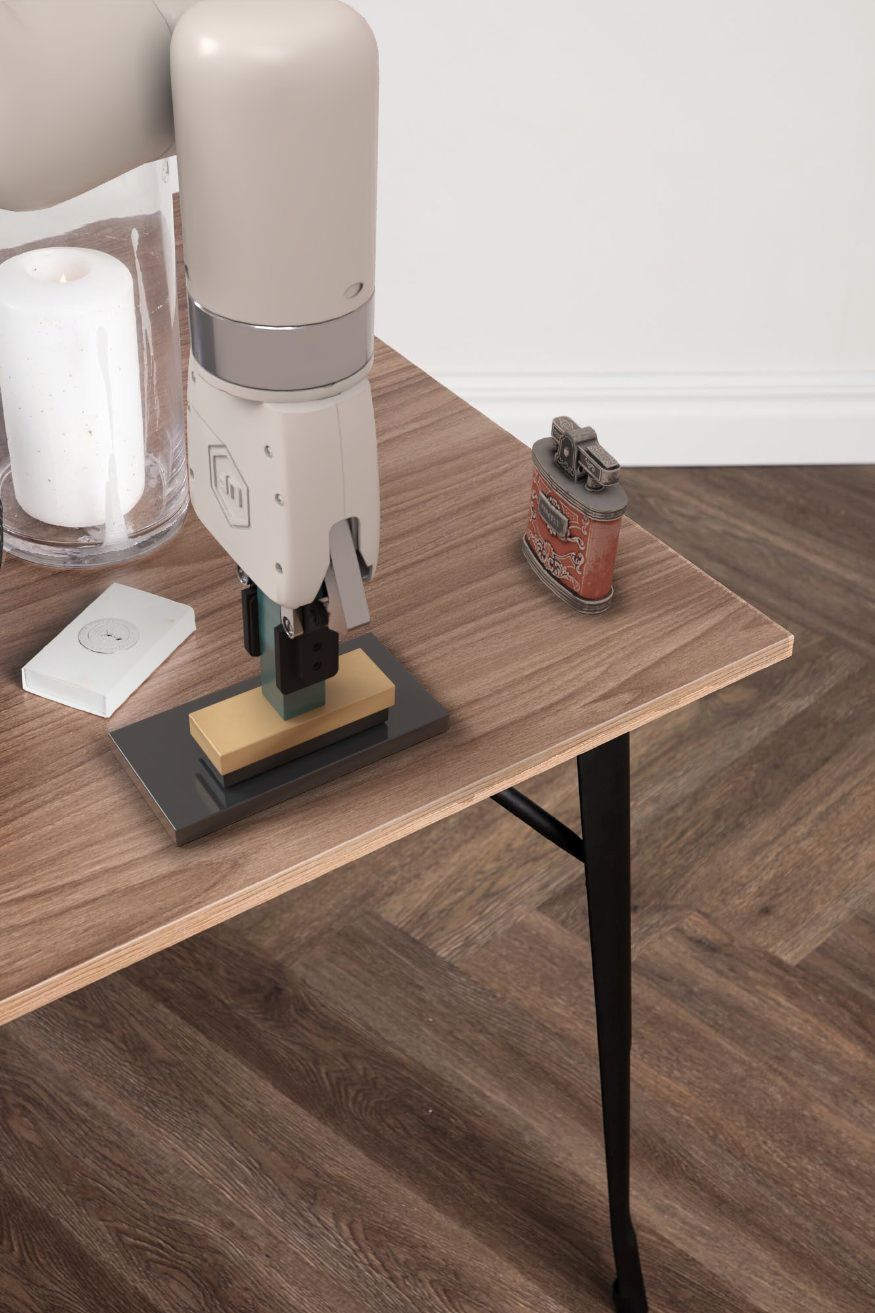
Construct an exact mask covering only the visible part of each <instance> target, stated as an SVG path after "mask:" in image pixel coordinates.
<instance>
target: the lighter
mask: <svg viewBox="0 0 875 1313" xmlns="http://www.w3.org/2000/svg"><path fill="white" fill-rule="evenodd" d="M551 420H552V421H551V430H550V436H548V437H543V438H540V439H537V440H535V442H533V444H532V448H531V454H530V455H531V456H530V458H531V462H532V463H533V467H532V478H531V486H530V497H529V505H528V516H527V525H526V532H524V534H523V536H522V545H521V550H522V554H523V556H524V557H525V559H526V561H527V563H528V565H529V566H530V568H531V569H532V570H533V572H534V573H535V574H536V575H537V577H538V578H539V579H540V581H541V582H542V583H543V584H544V585H545V586H546V587H547V588H548V589H549V590H550V591H551V592H552V593H553V594H554V595H556V596H557V597H558V598H559V599H560V600H562V601H563V602H564V603H566V604H567V605H568V606H570V607H571V608H572V609H574V610H575V611H577V612H579V613H583V614H588V615H589V614H591V615H594V614H600V613H603V612H605V611H607V610H608V609H609V608H610V607H611V606H612V603H613V598H614V592H615V591H614V587H613V585H612V583H613V577H614V570H615V565H616V557H617V551H618V545H619V538H620V533H621V532H620V531H621V526H622V519H623V516H625V515H626V512H627V509H628V502H629V497H628V495H627V493H626V491H625V490H624V489H623V487H622V486H621V484H620V475H621V468H622V466H621V464H620V463H619V461H618V460H617V459H616V458H615V457H614V456H613V455H611V454H610V453H609V452H608V451H607V450H606V448H604V447H603V446H602V445H601V444H600V442H599V440H598V434H597V433H596V430H595V429H594V428H592V426H590V425H588V426H584V427H581V426H580V425H579V424H578V423H577V422H575V421H574V419H572V418H571V417H570V416H567V415H560V416H556V417H553V418H552V419H551Z"/></svg>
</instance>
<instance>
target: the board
mask: <svg viewBox="0 0 875 1313" xmlns="http://www.w3.org/2000/svg"><path fill="white" fill-rule="evenodd" d="M359 648H361V649H362V650H363V651H364V652H365V654H366V655H367V656H368V657H369V658H370V659H371V660H372V661H373V662H374V663H375V664H376V665H377V667H378V668H379V669H380V670H381V671H382V672H383V673H384V674H385V675H386V676H387V677H388V678H389V680H390V681H391V682H392V683H393V684H394V685H395V703H394V705H393V706H390V707H389V712H388V720H387V721H385V722H383V723H380V724H378V725H376V726H373V727H371V728H368V729H366V730H364V731H361V732H359V733H356V734H354V735H352V736H349V737H347V738H344V739H342V740H340V741H337V742H335V743H332V744H330V745H328V746H325V747H323V748H320V749H318V750H316V751H313V752H311V753H308V754H306V755H304V756H301V757H299V758H296V759H294V760H292V761H289V762H287V763H284V764H282V765H280V766H277V767H275V768H272V769H270V770H268V771H265V772H263V773H260V774H258V775H256V776H253V777H251V778H248V779H246V780H244V781H241V782H239V783H236V784H234V785H232V786H229V787H227V788H224V787H223V786H222V784H221V783H220V782H219V780H218V779H217V778H216V776H215V775H214V773H213V772H212V771H211V769H210V768H209V767H208V765H207V764H206V763H205V761H204V760H203V759H202V757H201V756H200V755H199V753H198V750H197V741H196V740H195V739H194V737H193V736H192V735H191V733H190V722H189V714H190V713H193V712H195V711H198V710H200V709H203V708H206V707H208V706H211V705H213V704H216V703H219V702H221V701H224V700H226V699H229V698H232V697H234V696H237V695H239V694H242V693H245V692H247V691H250V690H252V689H255V688H257V687H260V686H262V685H261V673H260V674H257V675H255V676H252V677H249V678H247V679H243V680H241V681H239V682H236V683H233V684H231V685H227V686H226V687H223V688H220V689H218V690H215V691H213V692H209V693H207V694H204V695H202V696H200V697H197V698H195V699H192V700H190V701H189V700H188V701H186V702H184V703H181V704H178V705H175V706H174V707H171V708H168V709H166V710H163V711H161V712H158V713H156V714H153V715H150V716H148V717H145V718H143V719H139V720H138V721H135V722H132V723H129V724H127V725H124V726H121V727H119V728H116V729H114V730H112V731H109V732H108V733H107V738H108V745H109V749H110V751H111V752H112V754H113V755H114V756H115V758H116V760H117V761H118V762H119V764H120V765H121V767H122V769H123V770H124V771H125V773H126V774H127V776H128V777H129V778H130V780H131V781H132V783H133V784H134V786H135V788H136V789H137V790H138V792H139V794H140V795H141V796H142V797H143V799H144V800H145V802H146V803H147V804H148V806H149V808H150V809H151V811H152V812H153V813H154V815H155V816H156V818H157V820H158V821H159V822H160V824H161V825H162V827H163V829H165V831H166V833H167V835H169V838H170V839H171V840H172V841H173V843H174V845H176V847H180V846H183V845H185V844H188V843H191V842H193V841H194V840H197V839H199V838H201V837H204V836H206V835H208V834H211V833H213V832H215V831H217V830H220V829H222V828H224V827H227V826H229V825H231V824H233V823H237V822H238V821H241V820H244V819H245V818H247V817H250V816H252V815H256V814H257V813H259V812H262V811H264V810H266V809H268V808H271V807H274V806H276V805H278V804H280V803H282V802H284V801H287V800H289V799H291V798H294V797H296V796H299V795H301V794H303V793H305V792H308V791H310V790H312V789H314V788H316V787H320V786H321V785H324V784H326V783H328V782H330V781H333V780H335V779H337V778H340V777H342V776H345V775H346V774H347V775H348V774H349V773H351V772H354V771H356V770H359V769H361V768H363V767H365V766H368V765H370V764H373V763H374V762H376V761H379V760H382V759H384V758H386V757H389V756H391V755H393V754H396V753H398V752H400V751H403V750H404V749H407V748H410V747H411V746H414V745H416V744H419V743H420V742H423V741H425V740H428V739H430V738H432V737H434V736H437V735H439V734H441V733H443V732H446V731H448V730H449V727H450V713H449V711H447V710H446V709H445V707H444V706H443V705H442V704H440V702H439V701H438V700H437V699H436V698H435V697H434V696H433V694H431V693H430V692H429V691H428V690H427V688H426V687H425V686H424V685H423V684H421V682H419V680H418V679H417V678H416V677H415V676H414V675H413V674H412V673H411V672H410V671H409V670H408V668H406V666H404V665H403V663H402V662H401V661H399V659H398V658H397V657H396V656H395V655H394V654H393V653H392V652H391V651H390V650H389V648H387V646H386V645H384V644H383V642H382V641H381V640H380V639H379V638H378V637H377V636H376V635H375V634H374V633H373V632H372V631H368V632H366V633H363V634H361V635H358V636H355V637H352V638H350V639H347V640H345V641H342V642H339V656H340V655H343V654H346V653H348V652H351V651H353V650H356V649H359Z"/></svg>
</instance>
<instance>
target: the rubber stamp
mask: <svg viewBox="0 0 875 1313" xmlns="http://www.w3.org/2000/svg"><path fill="white" fill-rule="evenodd" d="M257 597H258V619H259V641H260V656H259V659H260V660H259V661H260V674H261V685H262V686H260V687H257V688H255V689H252V690H250V691H247V692H245V693H242V694H239V695H237V696H234V697H232V698H229V699H226V700H224V701H221V702H219V703H216V704H213V705H211V706H208V707H206V708H203V709H200V710H198V711H195V712H193V713H190V714H189V722H190V733H191V735H192V736H193V737H194V739H195V740H196V741H197V750H198V753H199V755H200V756H201V757H202V759H203V760H204V761H205V763H206V764H207V765H208V767H209V768H210V769H211V771H212V772H213V773H214V775H215V776H216V778H217V779H218V780H219V782H220V783H221V784H222V786H223V787H224V788H227V787H229V786H232V785H234V784H236V783H239V782H241V781H244V780H246V779H248V778H251V777H253V776H256V775H258V774H260V773H263V772H265V771H268V770H270V769H272V768H275V767H277V766H280V765H282V764H284V763H287V762H289V761H292V760H294V759H296V758H299V757H301V756H304V755H306V754H308V753H311V752H313V751H316V750H318V749H320V748H323V747H325V746H328V745H330V744H332V743H335V742H337V741H340V740H342V739H344V738H347V737H349V736H352V735H354V734H356V733H359V732H361V731H364V730H366V729H368V728H371V727H373V726H376V725H378V724H380V723H383V722H385V721H387V720H388V712H389V707H390V706H393V705H394V703H395V685H394V684H393V683H392V682H391V681H390V680H389V678H388V677H387V676H386V675H385V674H384V673H383V672H382V671H381V670H380V669H379V668H378V667H377V665H376V664H375V663H374V662H373V661H372V660H371V659H370V658H369V657H368V656H367V655H366V654H365V652H364V651H363V650H362V649H361V648H359V649H356V650H353V651H351V652H348V653H346V654H343V655H340V656H339V670H338V672H337V674H336V675H335V676H333V677H331V678H329V679H326V680H324V681H321V682H319V683H316V684H314V685H311V686H308V687H306V688H303V689H301V690H298V691H296V692H293V693H291V694H288V695H283V694H282V693H281V692H280V690H279V689H278V688H277V687H276V672H275V645H274V627H276V626H278V625H279V624H282V620H281V606H280V605H278V604H277V603H275V602H274V601H273V600H271V599H270V598H269V597H268V596H267V595H266V594H265V593H264V592H263V591H262V590H261V589H260V588H259V587H258V586H257ZM321 598H323V594H322V586H321V587H320V589H319V591H318V593H317V595H316V597H315V599H314V600H313V601H315V600H318V599H321ZM313 601H312V602H313ZM303 606H304V605H303Z"/></svg>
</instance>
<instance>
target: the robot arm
mask: <svg viewBox="0 0 875 1313" xmlns="http://www.w3.org/2000/svg"><path fill="white" fill-rule="evenodd" d="M379 54H380V53H379V48H378V43H377V38H376V36H375V33H374V32H373V30H372V28H371V26H370V24H369V23H368V21H367V20H366V18H365V17H364V16H363V15H362V14H361V13H360V12H358V11H357V10H356V9H355V8H354V7H353V6H351V5H349V4H347V3H346V2H343V1H341V0H0V210H3V211H9V212H15V213H28V212H35V211H37V212H38V211H41V210H46V209H50V208H54V207H56V206H58V205H61V204H62V203H65V202H67V201H70V200H72V199H74V198H77V197H79V196H81V195H84V194H85V193H87V192H90V191H92V190H94V189H96V188H98V187H99V186H102V185H104V184H105V183H108V182H110V181H112V180H115V179H116V178H118V177H120V176H123V175H124V174H126V173H128V172H130V171H132V170H135V169H137V168H138V167H141V166H143V165H145V164H149V163H153V162H156V161H161V160H165V159H167V158H171V157H174V156H176V167H177V180H178V194H179V209H180V220H181V221H180V222H181V234H182V247H183V248H182V249H183V262H184V263H183V264H184V273H185V274H184V275H185V286H186V288H185V289H186V304H187V315H188V316H187V317H188V330H189V341H190V343H189V344H190V349H189V359H188V360H189V361H188V369H187V386H186V387H187V388H186V389H187V391H186V429H187V430H186V431H187V432H186V433H187V434H186V435H187V437H186V438H187V465H188V482H189V483H188V485H189V497H190V502H191V505H192V508H193V510H194V512H195V515H196V516H197V518H198V519H199V521H200V522H201V523H202V525H203V526H204V527H205V528H206V530H207V531H208V532H209V533H210V535H212V537H213V538H214V539H215V540H216V541H217V542H218V544H219V545H220V546H221V547H222V548H223V549H224V550H225V552H226V553H227V554H228V555H229V556H230V557H231V558H232V560H233V561H234V563H235V573H236V575H237V578H238V580H239V582H240V583H241V585H242V586H244V587H246V588H243V589H241V590H240V592H241V593H240V594H241V611H242V612H241V613H242V629H243V630H242V631H243V648H244V650H245V651H246V652H247V654H248V655H249V656H250V657H252V658H260V641H259V619H258V597H257V586H258V587H259V588H260V589H261V590H262V591H263V592H264V593H265V594H266V595H267V596H268V597H269V598H270V599H271V600H273V601H274V602H275V603H277V604H278V605H280V606H281V620H282V624H279V625H278V626H276V627H274V645H275V672H276V687H277V688H278V689H279V690H280V692H281V693H282V694H283V695H288V694H291V693H293V692H296V691H298V690H301V689H303V688H306V687H308V686H311V685H314V684H316V683H319V682H321V681H324V680H326V679H329V678H331V677H333V676H335V675H336V674H337V672H338V670H339V644H340V635H343V636H347V635H350V634H353V633H355V632H358V631H360V630H363V629H365V628H368V627H370V626H371V624H372V619H371V614H370V610H369V605H368V600H367V596H366V592H365V587H364V583H369V582H371V581H372V580H373V578H374V576H375V574H376V571H377V567H378V563H379V562H378V561H379V555H380V554H379V553H380V541H381V495H380V494H381V492H380V490H381V489H380V470H379V454H378V453H379V451H378V441H377V440H378V439H377V429H376V421H375V411H374V404H373V397H372V389H371V383H370V380H369V378H368V374H370V372H371V370H372V368H373V364H374V358H375V310H376V308H375V306H376V305H375V304H376V303H375V302H376V263H377V262H376V257H377V256H376V255H377V253H376V252H377V214H378V213H377V210H378V208H377V207H378V168H379V166H378V162H379V161H378V160H379V116H380V115H379V112H380V109H379V108H380V58H379ZM247 586H248V587H247ZM321 586H322V594H323V598H321V599H318V600H315V601H313V600H314V599H315V597H316V595H317V593H318V591H319V589H320V587H321ZM312 601H313V602H312ZM303 605H304V606H303Z"/></svg>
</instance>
